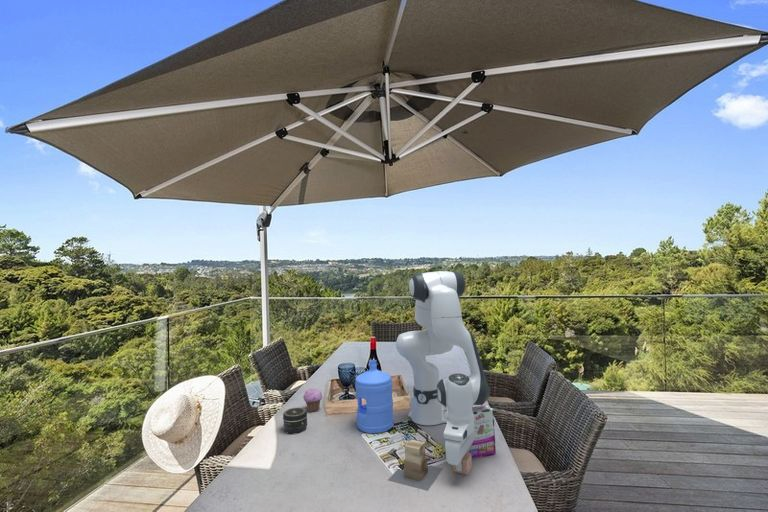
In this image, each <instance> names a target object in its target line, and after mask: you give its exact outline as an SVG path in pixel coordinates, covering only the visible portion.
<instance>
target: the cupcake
mask: <svg viewBox="0 0 768 512" xmlns="http://www.w3.org/2000/svg"><path fill="white" fill-rule="evenodd" d="M322 399H323V394H322V391H321V390H320V389H319V388H309V389H308V388H307V390H306V391H305V392H304V394H303V401H304V402H305V403H306V407H307V410H308V411H309V412H310V413H313V412H316V411H318V410H319V409H320V403H321V401H322Z"/></svg>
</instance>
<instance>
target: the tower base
mask: <svg viewBox="0 0 768 512" xmlns="http://www.w3.org/2000/svg"><path fill="white" fill-rule="evenodd" d="M402 464H404V477H407V478H411V479H415V480H419V481H421V480H422V479H423V477H424V476H425V475H426V474H427V472H428V465H429V464H428V456H426V455H425V458H424V460H423V461H422V462H421V463H420V464H415V463H411V462H406V461H405V459H404V460H403V462H402Z"/></svg>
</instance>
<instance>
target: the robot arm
mask: <svg viewBox="0 0 768 512" xmlns="http://www.w3.org/2000/svg"><path fill="white" fill-rule="evenodd" d="M465 279H466V278H465V277H464V275H463V273H461V272H459V271H457V270H456V271H455V270H452V271H446V270H444V271H443V270H437V271H429V272H427V271H426V272H423V273H422V272H418V273H415V274H412V275H411V277H410V279H409V284H408V289H409V293H410V295H411V297H412V298H413V299H414V300H415V306H414V320H415V322H416V323H417V324H418V325H419V326H420V327H423V328H425V329H423V330H410V331H406V332H403V333H400V334H398V336H397V339H396V341H395V347H396V352H397V353H398V354H399V355H400V356H401V357H402V358H404V359H405V360H406V361H407V362H408V363H409V365H410V366H411V369H412V375H413V388H412V389H413V390H412V393H413V396H412V397H411V399H410V412H408V415H407V416H408V417H409V418H410V419H411V421H412V422H413V423H415V424H417V425H421V426H436V425H441V424H446V425H445V427H444V430H443V439H445V441H444V446H445V447H444V448H445V461H446V463H447V464H448V465H451V466H453V465H455V466H456V470H457V471H461V470H462V469H463V467H462V464H461V461H462V459H463V457H464V455H465V454H466V453H469V448H470V446H471V445H472V443H473V441H474V439H475V432H474V414H473V410H472V408H473V407H474V406H483V405H485V403H486V402H487V401H488V400H489V398H490V396H491V394H490V393H491V392H490V387H489V384H488V381H487V377H486V376H485V375H486V374H485V373H484V372H485V371H484V368H483V365H482V361H481V357H480V353H479V350H478V346H477V342H476V339H475V337H474V334H473V333H472V331H470V330H468V329H467V328H466V325H465V324H464V322H463V317H462V316H463V315H462V313H463V312H462V307H461V303H460V297H462V296H463V295H464V293H465V291H466V280H465ZM454 346H456V347H458V348H460V349H462V351H464V353H465V356H466V360H467V364H468V367H469V371H470V375H466V374H464V373H453V374H450V375H449V376H448V377H445V378H444V377H443V378H441V379H440V370H439V368H438V367H437V365H435V364H434V363H431V362H429V361H427V360H426V358H427V356H434V355H437V356H438V355H442V354H445V353H448V352H451V351H452V350H453V348H454Z"/></svg>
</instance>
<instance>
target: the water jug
mask: <svg viewBox="0 0 768 512" xmlns="http://www.w3.org/2000/svg"><path fill="white" fill-rule="evenodd" d="M368 363H369V364H368V367H369V369H368V370H367V371H365V372H363V373H361V374H358V375H357V376H356V377H355V384H354V385H355V386H354V388H355V395H356V396H357V409H356V426H357V428H358V429H359V430H360V431H361V432H364V433H367V434H380V433H385V432H387V431H390V430H391V429H392V428H393V426H394V423H395V422H394V399H393V379H392V376H391V375H390V374H389V373H387V372H384V371H381V370H380V369H378V368H377V367H378V366H377V365H378V364H377V360H376V359H369V362H368ZM362 399H364V400H365V404H363V401H362Z"/></svg>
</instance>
